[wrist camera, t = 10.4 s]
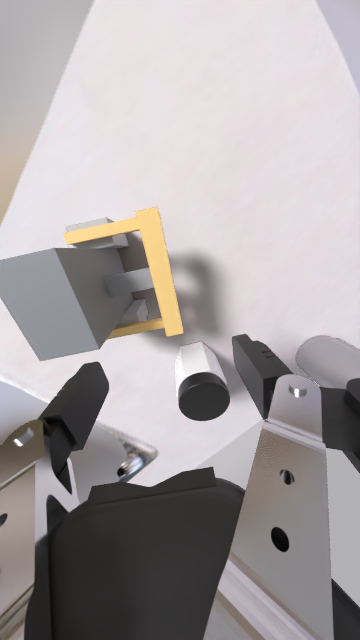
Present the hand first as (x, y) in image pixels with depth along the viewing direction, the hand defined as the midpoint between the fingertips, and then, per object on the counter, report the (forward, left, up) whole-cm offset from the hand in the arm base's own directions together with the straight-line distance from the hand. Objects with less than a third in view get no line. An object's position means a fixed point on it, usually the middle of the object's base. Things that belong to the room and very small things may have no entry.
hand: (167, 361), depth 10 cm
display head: (+6, -3, -23) cm, 24 cm away
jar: (-2, +17, -23) cm, 29 cm away
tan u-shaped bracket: (+5, -3, -15) cm, 16 cm away
